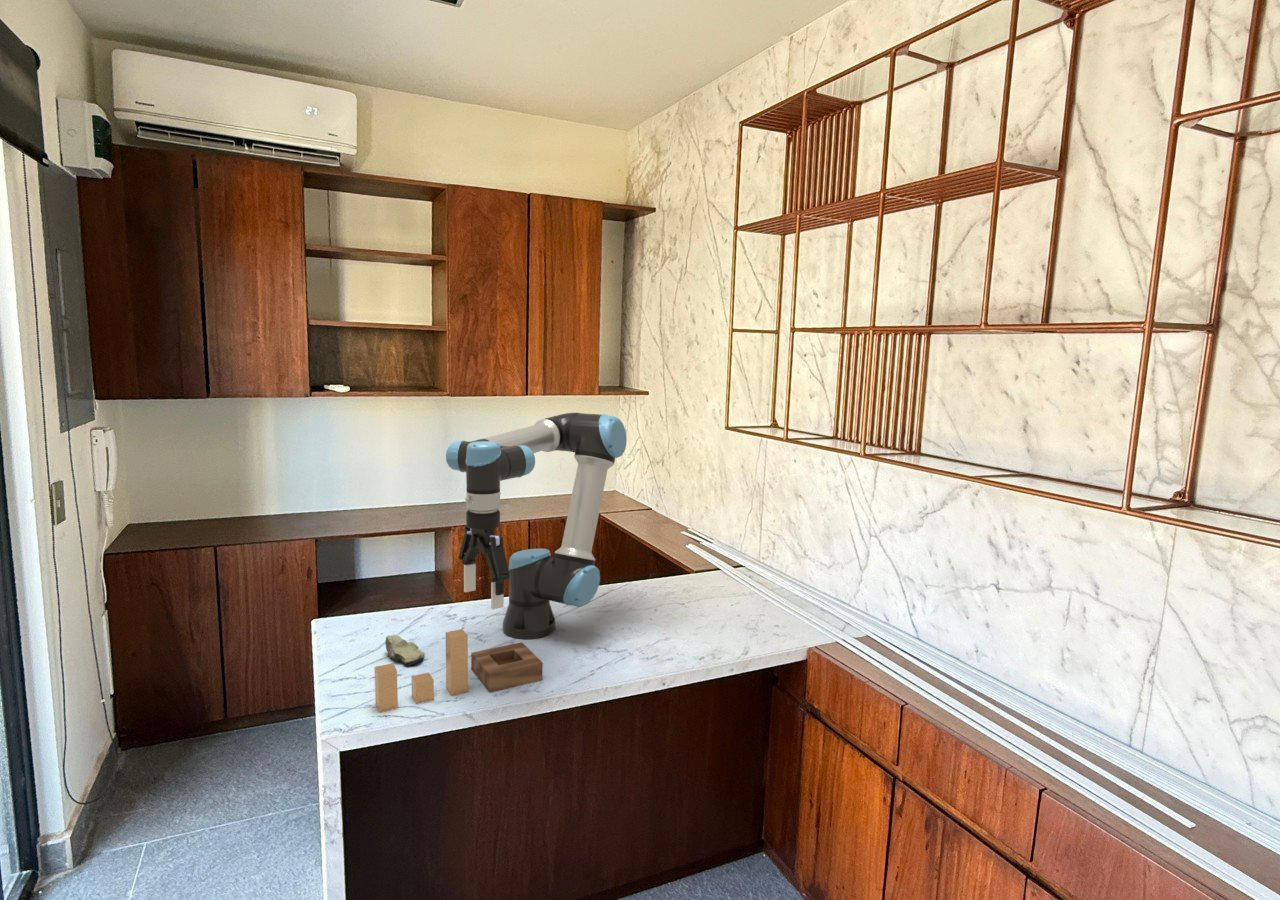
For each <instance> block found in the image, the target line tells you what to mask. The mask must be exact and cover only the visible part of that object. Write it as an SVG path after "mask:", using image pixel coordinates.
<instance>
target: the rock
mask: <svg viewBox="0 0 1280 900" xmlns="http://www.w3.org/2000/svg"><path fill="white" fill-rule="evenodd" d="M385 648H386V651H387V654H388V655H387V658H389V660H393V661H395V662H397V663H398V662H400V663H402V664H404V665H406V666H412V665H415V664H419V663H420V662H422V661H423V659H424V658H425V652H424V651H422V650H421V649H420V648H419V646H418V645H417V644H416V643H415V642H413V641H412V642H407V640H406V639H404V638H402V637H401V636H400V635H397V634H392V635H386V637H385Z"/></svg>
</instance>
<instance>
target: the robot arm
mask: <svg viewBox="0 0 1280 900" xmlns="http://www.w3.org/2000/svg"><path fill="white" fill-rule="evenodd" d="M627 438H628V437H627V432H626V427H625V425H624V423H623V422H622V420H621V419H620V418H619V417H617V416H613V415H609V414H604V413H603V414H600V413H599V414H598V413H597V414H595V413H581V412H568V413H563V414H562V413H561V414H558V415H557V414H556V415H554V416H549V417H546V418H542V419H539V420H537V421H536V422H535V423H534V424H533V425H529V426H526V427H522V428H518V429H515V430H510V431H506V432H503V433H499V434H496V435H492V436H489V437H484V438H480V439H476V440H472V441H466V440H455V441H453V442H451V443H450V444H449V446H448V447H447V449H446V453H445V459H446V464H447V465H448V467H449V468H450V469H452V470H454V471H458V472H461V473H466V475H465V476H466V477H465V478H466V479H465V480H466V497H464V500H465V502H466V509H467V511H466V516H465V518H466V523H465V525H464V534H463V538H462V543H461V546H460V550H459V553H458V554H459V555H458V559H459V561H461V563H462V564H463V592H464V593H470V592H474V591H476V590H477V589H476V588H477V578H476V577H477V575H476V574H477V573H476V572H477V570H476V569H477V566H476V565H477V564H476V562H477V560H476V558H477V556H478V554H479V552H480V551H481V553H482V555H483V556H485V559H486V562H487V565H488V568H489V571H490V574H491V577H492V578H491V580H490V584H491V585H490V589H491V590H490V594H491V595H490V609H491V610H497V609H501V608H504V607H505V606H504V596H505V595H504V592H505V591H504V589H505V588H504V587H505V586H504V585H505V584H504V583H505V581H506V580H508V604H507V605H508V606H507V608H506V611H505V615H504V618H503V620H502V631H503V633H504V634H505V635H506V636H509V637H512V638H514V639H521V640H522V639H523V640H525V639H527V640H530V639H531V640H533V639H538V638H539V639H540V638H544V637H546V636H548V635H551V634H552V633H554V632H555V631H556V618H555V615H554V610H553V609H552V605H551V602H555V603H559V604H563V605H566V606H570V607H571V606H573V607H584V606H585V605H588V604H589V603H590V602H591V601H592V600H593V599H594V597H595V595H596V594H597V591H598V589H599V586H600V583H601V574H600V569H599V568H598V567H597V566H595V563H596V558H595V557H594V555H593V553H592V551H593V545H594V541H595V536H596V530H597V526H598V521H599V514H600V511H601V505H602V500H603V496H604V495H603V494H604V490H605V485H606V480H607V474H608V470H609V469H610V468H612V467H613V466H614V465H615V461H616V459H618V458H621V457H622V456H623V454H624V453H625V451H626V448H627V443H628V441H627V440H628V439H627ZM555 451H560V452H569V453H574V456H573V458H574V459H575V461H576V463H577V468H576V473H575V478H574V482H573V487H572V492H571V497H570V501H569V507H568V512H567V517H566V522H565V526H564V532H563V536H562V542H561V546H560V547H559V548H557V549H556V550H555V551H554V553H553V557H551V555H552V554H551V551H550V550H549V549H548V548H547V549H546V548H529V549H523V550H519V551H516V552H514V553H512V554H511V556H510V557H509V562H507V558H506V554H505V549H504V542H503V540H504V539H503V535H496V532H495V530H496V528H499V526H500V525H501V524H500V523H501V511H500V510H499V509H501V481H506V480H510V479H511V480H512V479H515V478H516V479H517V478H523V476H526V475H529V474H531V473H532V471H534V468H535V465H536V458H535V453H540V452H544V453H551V452H555Z"/></svg>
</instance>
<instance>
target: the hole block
mask: <svg viewBox="0 0 1280 900" xmlns="http://www.w3.org/2000/svg"><path fill="white" fill-rule="evenodd" d="M470 656H471V657H470V658H471V659H470V663H471V665H470V667H471V668H470V669H471V671H472V673H473V674H474V675H475V676H476V677H477V678H478V680H479V681H480V682H481V684H482V685H483V686H484V687H485V689H486V690H487V691H488V693H493V692H497V691H500V690H506V689H509V688H514V687H518V686H523V685H527V684H530V683H534V682H538V681H543V669H544V668H543V661H542V660H541V659H540V658H539V657H538V656H537V655H536V654H535V653H533V652H532V650H531V649H529V647H527V646H526V645H525V644H524V643H523V642H522V641H520V642H516V643H511V644H506V645H500V646H497V647H492V648H487V649H482V650H476V651H473V652H470Z"/></svg>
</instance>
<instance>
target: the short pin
mask: <svg viewBox="0 0 1280 900" xmlns="http://www.w3.org/2000/svg"><path fill="white" fill-rule="evenodd" d="M434 682H435V681H434V678H433V676H432V675H431V673H430V672H424V673H420V674H416V675H412V676H411V697H412V699H413V701H414V702H415V704H416V705H418V704H422V702H423V703H426V701H427V702H431V701H434V700H435V699H434V698H435V689H434V688H435V686H434V685H435V684H434ZM430 700H431V701H430Z"/></svg>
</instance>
